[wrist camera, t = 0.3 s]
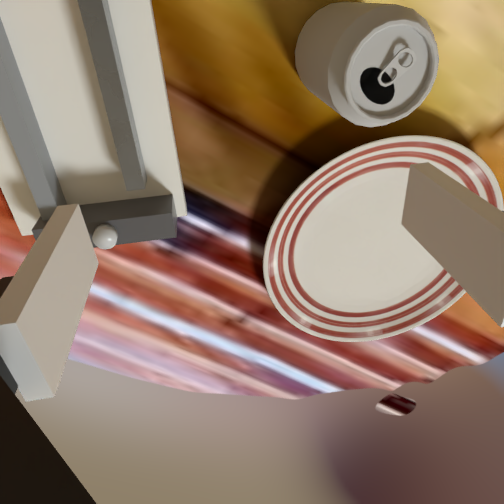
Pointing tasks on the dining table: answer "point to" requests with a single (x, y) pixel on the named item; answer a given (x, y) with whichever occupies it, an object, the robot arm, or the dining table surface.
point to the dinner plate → (365, 242)
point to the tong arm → (114, 90)
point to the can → (368, 60)
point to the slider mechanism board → (83, 123)
